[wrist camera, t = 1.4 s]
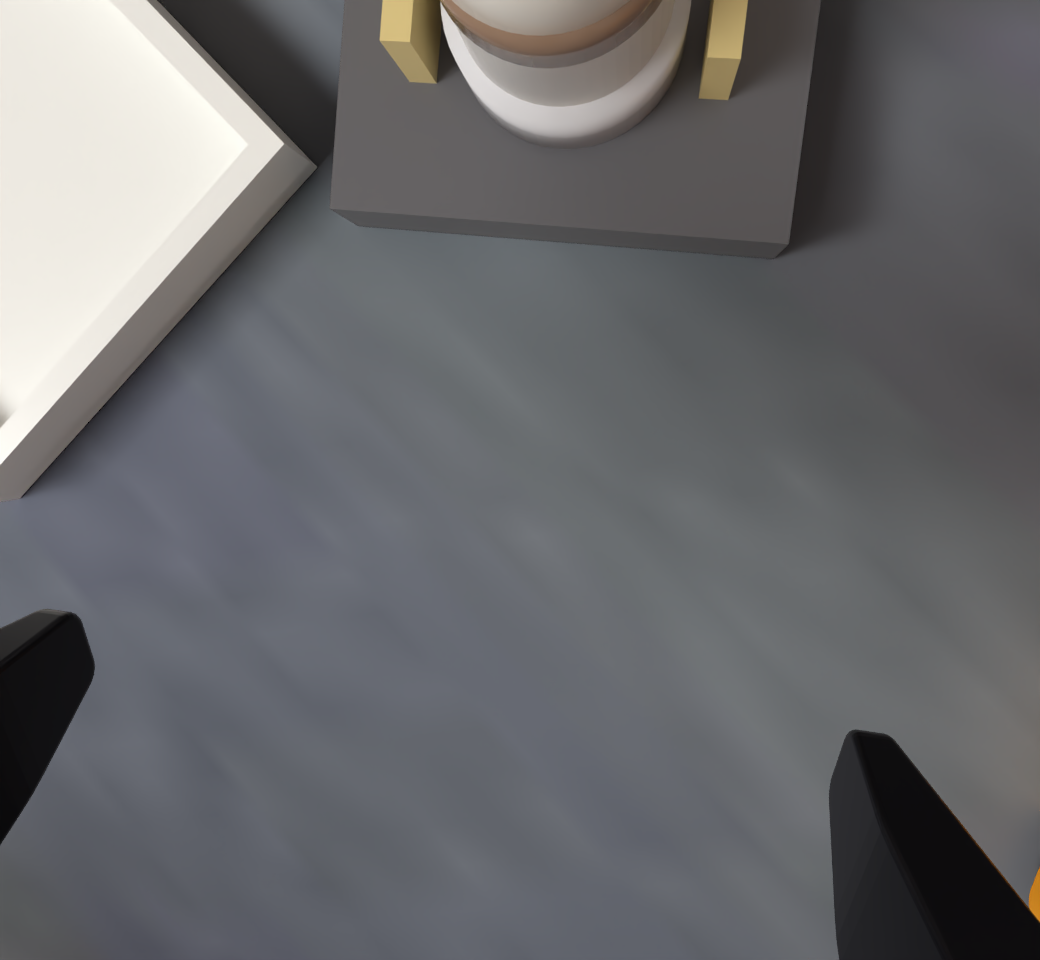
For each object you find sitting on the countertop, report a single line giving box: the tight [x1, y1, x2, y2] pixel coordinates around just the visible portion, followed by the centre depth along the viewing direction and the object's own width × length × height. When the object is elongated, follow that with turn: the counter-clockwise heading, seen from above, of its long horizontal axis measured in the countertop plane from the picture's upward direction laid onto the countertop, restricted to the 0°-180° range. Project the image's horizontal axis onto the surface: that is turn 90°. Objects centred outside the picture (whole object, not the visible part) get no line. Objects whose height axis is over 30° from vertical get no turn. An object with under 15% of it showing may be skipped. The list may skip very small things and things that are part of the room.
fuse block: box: [330, 0, 821, 259], centre depth 18 cm, size 8×10×4 cm
